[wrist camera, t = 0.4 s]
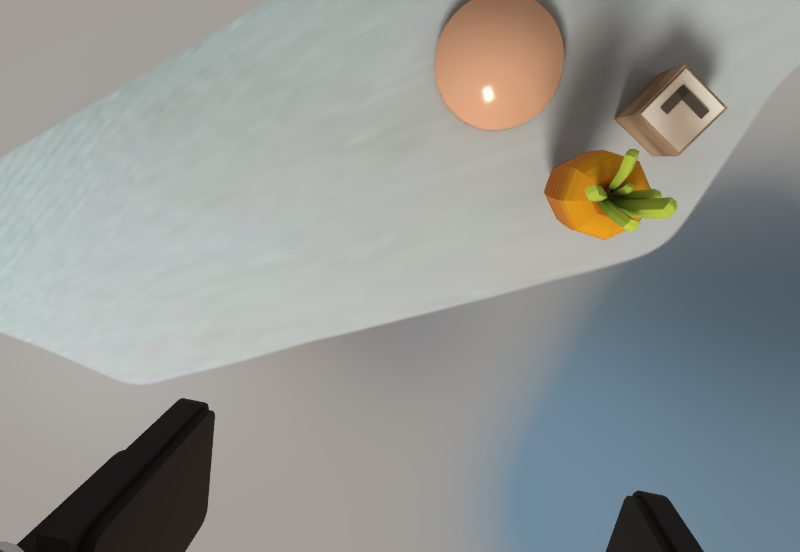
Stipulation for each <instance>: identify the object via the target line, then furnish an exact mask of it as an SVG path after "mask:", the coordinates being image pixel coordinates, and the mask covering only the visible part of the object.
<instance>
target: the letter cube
mask: <svg viewBox="0 0 800 552" xmlns="http://www.w3.org/2000/svg"><path fill="white" fill-rule="evenodd" d="M726 109H727V107H726V106H725V105H724V104H723V103H722V102H721V101H720V100H719V99H718V98H717V97H716V96H715V95H714V93H713V92H712V91H711V90H710V89H709V88H708V87H707V86H706V85H705V84H704V83H703V82H702V81H701V80H700V79H699V78H698V77H697V76H696V75H695V74H694V73H693V72H692V71H691V70H690V69H689V68H688V67H687V66H686V65H685V64H684V65H682V66H679V67H676V68H674V69H671V70H668V71H666V72H663V73H660V74H658V75H657V76H656V77H655V78H654V79H653V80H652V81H651V82H650V83H649V84H648V85H647V86H646V87H645V88H644V89H643V90H642V91H641V92H640V93H639V94H638V95H637V96H636V97H635V98H634V99H633V100H632V101H631V102H630V103H629V104H628V105H627V106H626V108H625V109H624V110H623V111H622V112H621V113H620V114H619V115H618V116H617V117H616V118H615V120H616V121H617V122H618V123H619V124H620V125H621V126H622V127H623V128H624V129H625V130H626V131H627V132H628V133H629V134H630V135H631V136H632V137H633V138H634V139H635V140H636V141H637V142H638V143H639V144H640V145H641V146H642V147H643V148H644V149H645V150H646V151H647V152H648V153H649V154H650V155H651V156H679V155H680V154H681V153H682V152H683V151H684V150H685V149H686V148H687V147H688V146H689V145H690V144H691V143H692V142H693V141H694V140H695V139H696V138H697V137H698V136H699V135H700V134H701V133H702V132H703V131H704V130H705V129H706V128H708V127H709V126H710V125H711V124H712V123H713V122H714V121H715V120H716V119H717V118H718V117H719V116H720V115H721V114H722V113H723V112H724V111H725V110H726Z"/></svg>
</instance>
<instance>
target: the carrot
mask: <svg viewBox="0 0 800 552" xmlns="http://www.w3.org/2000/svg"><path fill="white" fill-rule="evenodd" d="M638 154H639V151H638V150H636V149H630V150H629V151H627V153H626V155H625V157H624V156H621V155H618V154H614V153H611V152H608V151H604V150H599V151H591V152H587V153H583V154H581V155H579V156H577V157H575V158H573V159H571V160H569V161H567V162H565V163H563V164H561V165H559V166H558V167H556V168H554V169H553V170H552V172H551V174H550V177H549V179H548V182H547V185H546V187H545V190H544V193H545V195H546V197H547V199H548V201H549V204H550V206H551V208H552V210H553V212H554V214H555V216H556V218H557V220H559V221H560V222H561V223H562V224H564V225H565V226H567V227H568V228H570V229H571V230H574V231H578V232H581V233H584V234H587V235H591V236H594V237H597V238H600V239H604V240H606V239H608V238H610V237H613V236H615V235H617V234H619V233H621V232H623V231H625V230H627V231H631V232H632V231H634V230H635V229H637V228H638V226H639V225H640V223H639V222H640V220H641V218H650V219H660V218H670V217H671V216H672V215H673V214H674V213H675V211H676V208H677V203H676V201H675V200H674V199H673V198H661V197H662V195H661V192H660V191H658V190H656V189H651V188H650V186H649V183H648V181H647V179H646V176H645V174H644V172H643V169H642V167H641V165H640V162H639V161H637V158H638Z"/></svg>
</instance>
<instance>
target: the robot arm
mask: <svg viewBox="0 0 800 552" xmlns="http://www.w3.org/2000/svg"><path fill="white" fill-rule="evenodd" d="M214 420H215V414H214V412H213V411H210V410H209V407H208V404H207V403H204V402H199V401H194V400H189V399H185V398H182V399H180V400H178V401H177V402H176V403H175V404H174V405H173V406H172V407H171V408H170V409H168V410H167V411H166V412H165V413H164V414H163V415H162V416H161V417H160V418H159V419H158V420H157V421H156V422H155V423H153V424H152V425H151V426H150V427H149V428H148V429H147V430H146V431H145V432H144V433H143V434H142V435H141V436H140V437H138V439H136V440H135V441H134V442H133V443H132V444H131V445H130V446H129V447H128V448H127V449H126V450H123V451H119V452H118V453H117V454H115V455H114V456H113V457H111V458H110V459H109V460H108V461H107V462H106V463H105V464H104V465H103V466H102V467H101V468H100V469H98V470H97V471H96V472H95V473H94V474H93V475H92V476H91V477H90V478H89V479H88V480H87V481H85V482H84V483H83V484H82V485H81V486H80V487H79V488H78V489H77V490H76V491H75V492H73V493H72V494H71V495H70V496H69V497H68V498H67V499H66V500H65V501H64V502H63V503H62V504H61V505H59V506H58V507H57V508H56V509H55V510H54V511H53V512H52V513H51V514H50V515H48V516H47V517H46V518H45V519H44V520H43V521H42V522H41V523H40V524H39V525H38V526H37V527H35V528H34V529H33V530H32V531H31V532H30V533H29V534H28V535H27V536H26V537H25V538H23V540H21V541H20V542H19V543H18V544H17V545H14V544H11V543H8V542H0V552H185V551H186V549H187V548H188V546H189V545H190V543H191V541H192V540H193V538H194V537H195V535H196V534H197V532H198V530H199V529H200V527H201V526H202V523H203V522H204V518H205V516H206V513H207V507H208V495H209V483H210V471H211V470H210V469H211V458H212V446H213V433H214ZM606 552H703V550H702V549H701V547H700V545H699V544H698V542H697V541H696V539H695V538H694V536H693V535H692V533H691V532H690V530H689V529H688V527H687V526H686V524H685V523H684V521H683V520H682V518H681V517H680V516H679V514H678V512H677V511H676V509H675V508H674V506H673V505H672V503H671V502H670V501H669V499H668V498H667V497H665V496H663V495H658V494H653V493H648V492H643V491H636V492H635V493H634V494H633V496H627V497H626V498H625V500H624V502H623V505H622V508H621V511H620V513H619V516H618V519H617V522H616V524H615V528H614V530H613V533H612V536H611V539H610V541H609V544H608V547H607V550H606Z"/></svg>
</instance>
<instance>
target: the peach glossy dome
mask: <svg viewBox="0 0 800 552" xmlns="http://www.w3.org/2000/svg"><path fill="white" fill-rule="evenodd" d="M563 67H564V45H563V40H562V36H561V33H560V30H559V28H558V26H557V24H556V22H555V20H554V19H553V17H552V16H551V14H550V13H549V12H548V11H547V10H546V9H545V8H544V7H543V6H542V5H541V4H540V3H538V2H537V1H535V0H471V1H469V2H468V3H466V4H465V5H463V6H462V7H461V8H460V9H459V10H458V11H457V12H456V13H455V14H454V15H453V16H452V17H451V19H450V20H449V21H448V23H447V24H446V26H445V28H444V29H443V31H442V33H441V36H440V38H439V41H438V44H437V48H436V53H435V79H436V84H437V88H438V90H439V93H440V96H441V98H442V100H443V101H444V103H445V105H446V106H447V107H448V109H449V110H450V111H451V112H452V113H453V114H454V115H455V116H456V117H457V118H458V119H460V120H461V121H463V122H464V123H466V124H468V125H470V126H472V127H475V128H479V129H483V130H504V129H508V128H512V127H515V126H517V125H520V124H522V123H524V122H526V121H528V120H529V119H531V118H532V117H534V116H535V115H536V114H538V113H539V112H540V111H541V110H542V109H543V108H544V107H545V106H546V105H547V103H548V102H549V101H550V100H551V98H552V96H553V95H554V93H555V91H556V89H557V87H558V85H559V82H560V79H561V76H562V72H563Z"/></svg>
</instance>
